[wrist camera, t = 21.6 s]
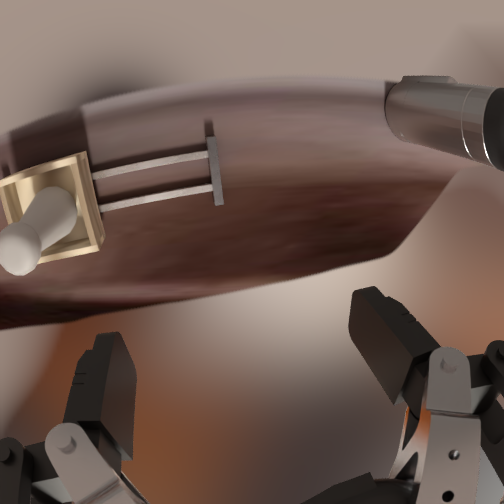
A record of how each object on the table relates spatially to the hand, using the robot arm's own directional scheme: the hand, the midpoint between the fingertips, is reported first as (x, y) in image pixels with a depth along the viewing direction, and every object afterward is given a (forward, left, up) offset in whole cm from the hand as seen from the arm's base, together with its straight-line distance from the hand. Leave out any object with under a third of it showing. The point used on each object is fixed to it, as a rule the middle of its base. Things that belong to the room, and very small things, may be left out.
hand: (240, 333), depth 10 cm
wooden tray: (+7, -15, -29) cm, 33 cm away
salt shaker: (+7, -14, -26) cm, 31 cm away
